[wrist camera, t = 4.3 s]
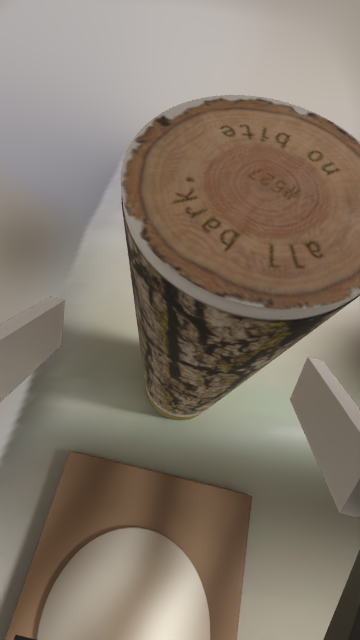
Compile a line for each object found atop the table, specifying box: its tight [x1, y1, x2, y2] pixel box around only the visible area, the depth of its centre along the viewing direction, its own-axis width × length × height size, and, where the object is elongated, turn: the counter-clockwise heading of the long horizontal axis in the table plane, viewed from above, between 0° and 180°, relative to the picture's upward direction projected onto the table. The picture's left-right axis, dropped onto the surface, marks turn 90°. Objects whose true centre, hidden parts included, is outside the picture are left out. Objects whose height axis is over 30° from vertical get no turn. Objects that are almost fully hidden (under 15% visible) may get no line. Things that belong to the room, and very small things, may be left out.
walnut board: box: [5, 451, 252, 640], centre depth 22 cm, size 16×20×2 cm
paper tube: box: [121, 95, 360, 420], centre depth 19 cm, size 7×7×25 cm
